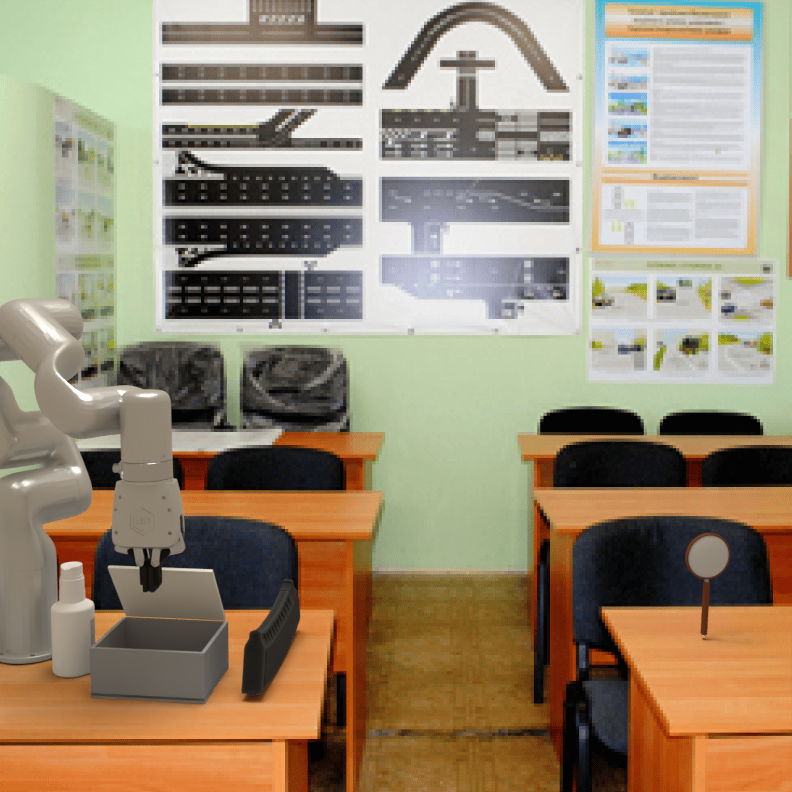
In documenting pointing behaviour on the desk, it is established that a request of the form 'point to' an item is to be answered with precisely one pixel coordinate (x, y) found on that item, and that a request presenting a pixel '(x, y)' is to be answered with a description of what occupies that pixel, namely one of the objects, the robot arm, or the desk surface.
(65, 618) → the spray bottle
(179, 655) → the carton
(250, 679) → the magazine
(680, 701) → the desk surface
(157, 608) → the carton flap
